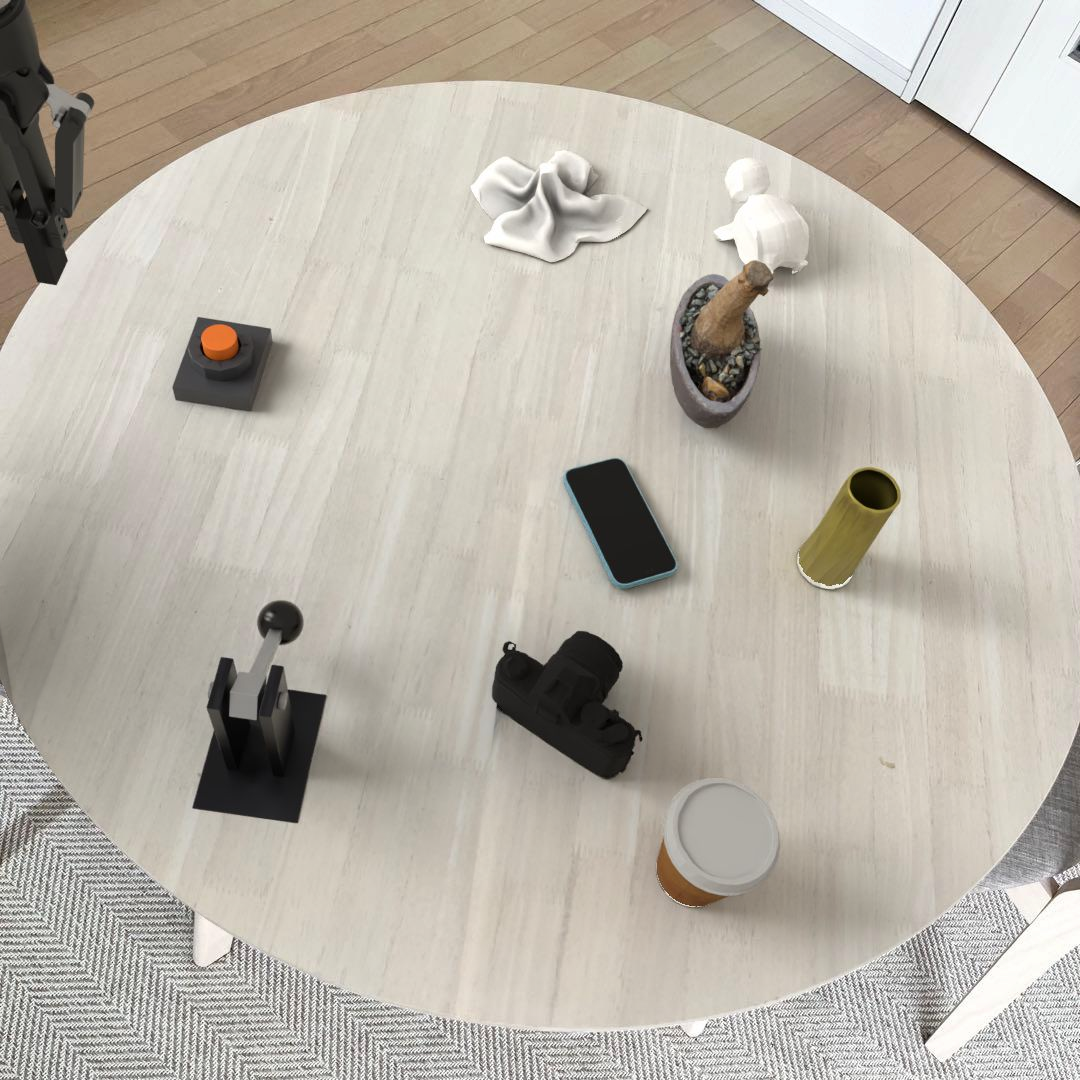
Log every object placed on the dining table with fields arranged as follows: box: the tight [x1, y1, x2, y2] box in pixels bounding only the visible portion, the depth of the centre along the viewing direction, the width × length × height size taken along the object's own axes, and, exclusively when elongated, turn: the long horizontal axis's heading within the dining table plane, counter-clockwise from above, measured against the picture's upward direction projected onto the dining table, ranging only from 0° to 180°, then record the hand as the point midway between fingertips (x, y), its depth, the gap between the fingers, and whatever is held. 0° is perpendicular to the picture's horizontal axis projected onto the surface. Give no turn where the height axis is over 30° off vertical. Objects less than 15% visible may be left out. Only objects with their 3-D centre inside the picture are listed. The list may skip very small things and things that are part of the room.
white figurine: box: [713, 157, 810, 276], centre depth 139 cm, size 9×8×15 cm
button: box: [201, 324, 239, 361], centre depth 119 cm, size 4×4×2 cm
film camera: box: [491, 630, 644, 780], centre depth 103 cm, size 15×10×9 cm, turn 56°
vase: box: [799, 466, 902, 586], centre depth 112 cm, size 6×6×14 cm
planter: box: [669, 260, 775, 430], centre depth 120 cm, size 15×17×20 cm
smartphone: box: [563, 457, 678, 590], centre depth 117 cm, size 7×1×15 cm
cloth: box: [470, 149, 630, 263], centre depth 139 cm, size 22×19×6 cm
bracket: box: [191, 656, 327, 824], centre depth 94 cm, size 12×9×15 cm
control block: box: [171, 316, 273, 413], centre depth 121 cm, size 8×10×4 cm
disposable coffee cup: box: [656, 777, 781, 908], centre depth 95 cm, size 10×10×12 cm
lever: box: [229, 599, 305, 720], centre depth 95 cm, size 14×4×4 cm, turn 175°
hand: (52, 271), depth 89 cm, fingers closed
